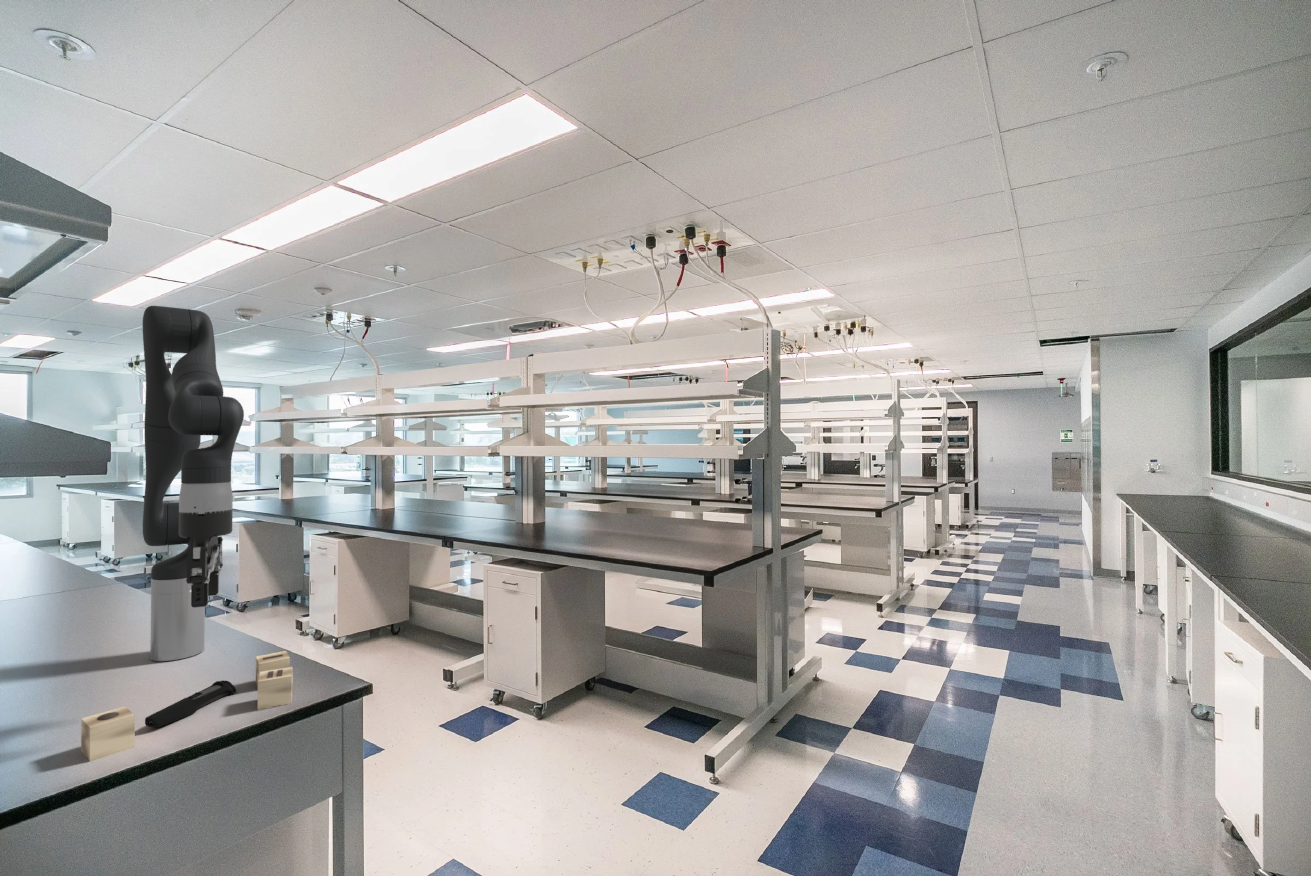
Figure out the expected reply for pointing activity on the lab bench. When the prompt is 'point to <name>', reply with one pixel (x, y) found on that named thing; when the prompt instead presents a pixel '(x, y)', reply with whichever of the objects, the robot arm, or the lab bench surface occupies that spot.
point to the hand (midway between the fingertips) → (205, 600)
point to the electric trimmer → (190, 704)
